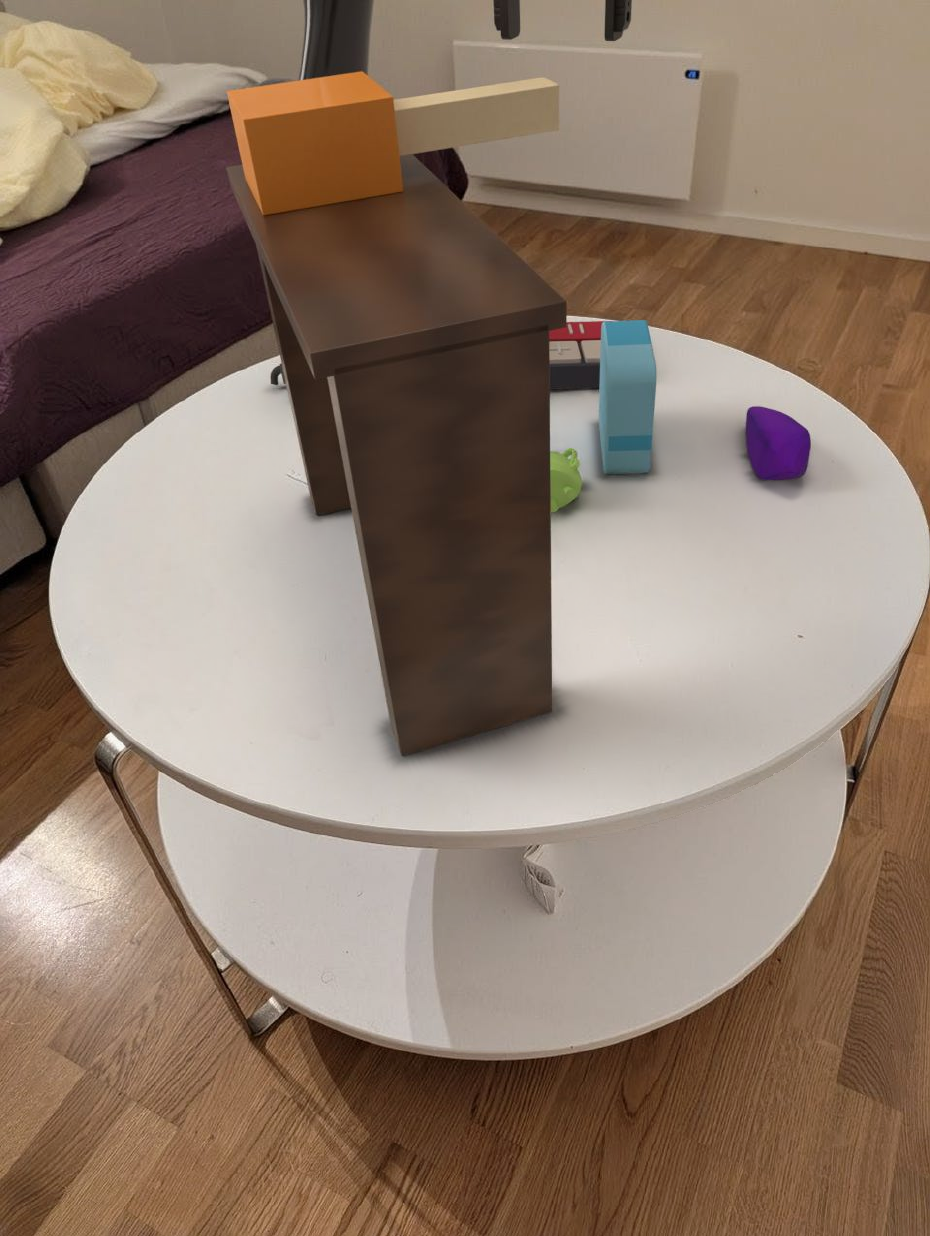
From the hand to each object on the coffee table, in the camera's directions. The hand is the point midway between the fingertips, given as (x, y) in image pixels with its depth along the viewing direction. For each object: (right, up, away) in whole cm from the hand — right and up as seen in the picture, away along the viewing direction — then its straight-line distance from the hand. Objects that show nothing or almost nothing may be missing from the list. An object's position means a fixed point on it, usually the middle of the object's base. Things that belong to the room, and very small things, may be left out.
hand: (560, 38), depth 71 cm
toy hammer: (-12, -11, -2) cm, 16 cm away
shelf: (-12, -42, +11) cm, 45 cm away
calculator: (+4, -15, +41) cm, 44 cm away
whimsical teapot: (+1, -33, +20) cm, 39 cm away
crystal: (+24, -28, +24) cm, 44 cm away
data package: (+9, -27, +27) cm, 39 cm away
